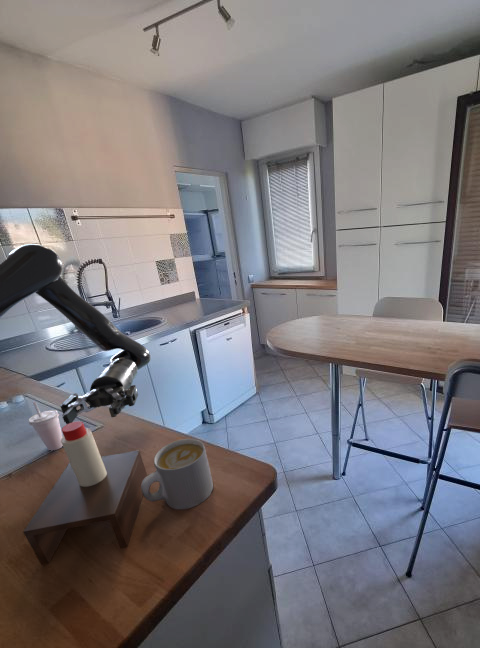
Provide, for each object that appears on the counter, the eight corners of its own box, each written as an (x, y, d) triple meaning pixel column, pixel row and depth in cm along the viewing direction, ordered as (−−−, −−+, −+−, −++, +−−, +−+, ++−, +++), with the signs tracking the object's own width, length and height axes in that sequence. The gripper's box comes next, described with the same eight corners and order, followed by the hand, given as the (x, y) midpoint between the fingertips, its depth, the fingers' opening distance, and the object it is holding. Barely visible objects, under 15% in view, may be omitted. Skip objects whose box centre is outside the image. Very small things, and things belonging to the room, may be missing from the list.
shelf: (41, 565, 57) (22, 531, 54) (82, 491, 74) (69, 462, 70) (127, 546, 60) (114, 513, 56) (148, 478, 76) (139, 450, 73)
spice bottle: (75, 489, 63) (51, 435, 58) (84, 472, 67) (63, 421, 62) (102, 484, 63) (81, 431, 59) (110, 467, 68) (91, 417, 63)
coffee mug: (206, 469, 77) (197, 433, 73) (219, 495, 69) (210, 456, 65) (144, 493, 72) (132, 455, 68) (151, 525, 64) (137, 485, 60)
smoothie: (36, 451, 89) (15, 405, 83) (60, 437, 94) (41, 394, 89) (52, 455, 86) (31, 409, 81) (75, 441, 92) (57, 396, 86)
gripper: (77, 373, 79) (44, 406, 65) (140, 365, 82) (121, 394, 67) (87, 401, 82) (57, 438, 68) (147, 392, 85) (131, 426, 70)
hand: (89, 416), depth 67 cm, fingers open, 8 cm apart
